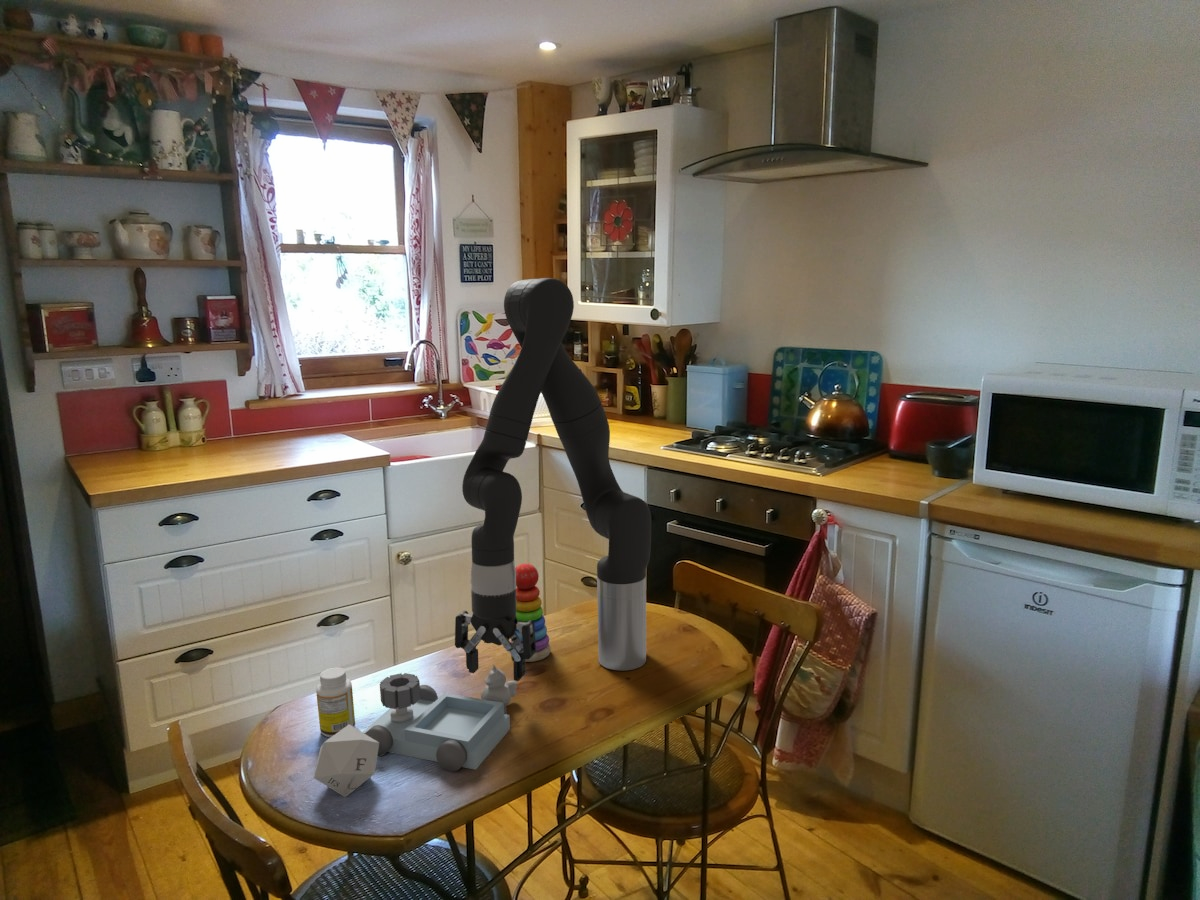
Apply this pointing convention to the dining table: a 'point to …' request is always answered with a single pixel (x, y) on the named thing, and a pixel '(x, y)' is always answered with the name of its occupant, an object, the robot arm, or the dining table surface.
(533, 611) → the stacking toy
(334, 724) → the supplement bottle
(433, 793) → the dining table surface
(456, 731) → the chassis
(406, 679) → the spare wheel
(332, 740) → the die
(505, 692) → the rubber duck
